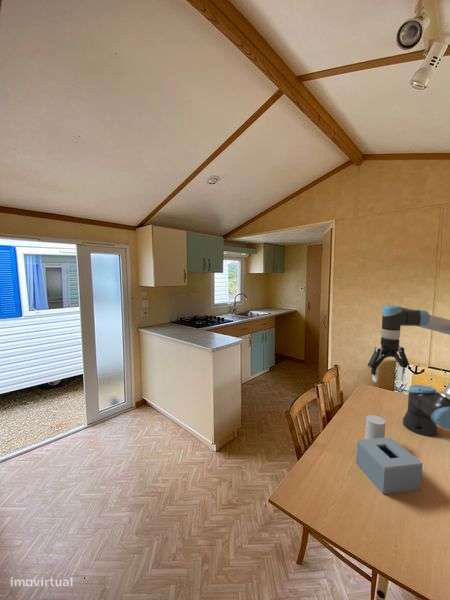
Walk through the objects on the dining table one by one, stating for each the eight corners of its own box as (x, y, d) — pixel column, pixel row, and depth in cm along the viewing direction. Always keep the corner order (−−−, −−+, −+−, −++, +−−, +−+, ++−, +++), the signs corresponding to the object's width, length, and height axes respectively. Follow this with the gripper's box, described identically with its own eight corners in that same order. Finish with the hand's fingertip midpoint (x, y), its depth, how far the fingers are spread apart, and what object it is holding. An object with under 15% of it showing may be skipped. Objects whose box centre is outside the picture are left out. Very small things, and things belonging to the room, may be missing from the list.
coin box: (389, 460, 115) (390, 437, 114) (420, 489, 99) (422, 463, 98) (356, 463, 113) (357, 440, 112) (382, 494, 97) (384, 467, 96)
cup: (386, 448, 122) (388, 425, 121) (368, 446, 124) (369, 423, 123) (380, 438, 130) (381, 415, 129) (362, 436, 132) (364, 414, 131)
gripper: (407, 335, 128) (404, 375, 130) (361, 336, 124) (358, 378, 127) (420, 338, 120) (417, 382, 122) (371, 340, 117) (369, 385, 119)
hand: (387, 380), depth 125 cm, fingers open, 13 cm apart
